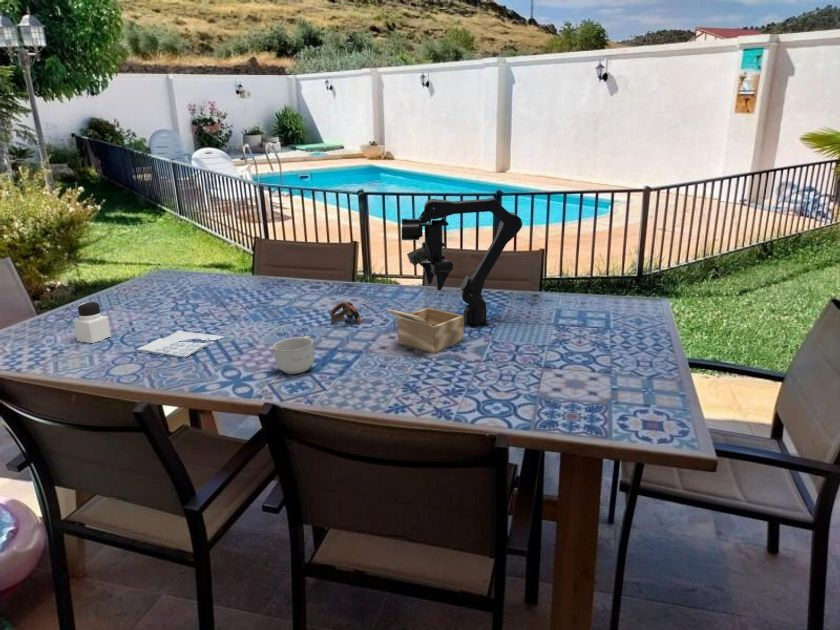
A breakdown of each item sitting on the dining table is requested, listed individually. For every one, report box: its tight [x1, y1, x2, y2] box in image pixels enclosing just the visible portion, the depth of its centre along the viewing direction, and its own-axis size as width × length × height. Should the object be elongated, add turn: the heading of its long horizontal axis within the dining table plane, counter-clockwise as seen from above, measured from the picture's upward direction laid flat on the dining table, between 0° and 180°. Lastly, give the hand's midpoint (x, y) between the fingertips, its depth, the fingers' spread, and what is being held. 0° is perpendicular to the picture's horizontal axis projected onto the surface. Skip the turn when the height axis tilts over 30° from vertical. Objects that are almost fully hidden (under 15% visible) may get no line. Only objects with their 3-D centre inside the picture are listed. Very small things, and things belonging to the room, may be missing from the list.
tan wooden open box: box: [396, 307, 465, 354], centre depth 192 cm, size 14×15×8 cm
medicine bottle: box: [73, 301, 112, 344], centre depth 200 cm, size 7×7×12 cm
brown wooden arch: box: [329, 301, 362, 325], centre depth 213 cm, size 12×10×8 cm
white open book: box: [136, 330, 225, 358], centre depth 195 cm, size 19×20×2 cm
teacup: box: [272, 335, 315, 375], centre depth 174 cm, size 14×11×8 cm
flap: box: [386, 308, 432, 326], centre depth 183 cm, size 7×12×1 cm
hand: (434, 287), depth 206 cm, fingers open, 9 cm apart
